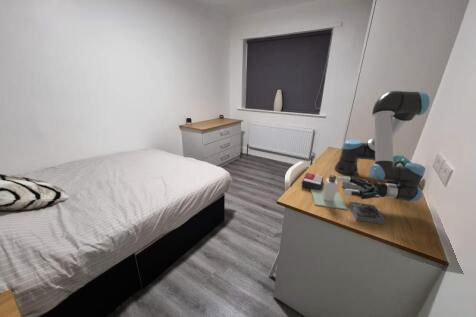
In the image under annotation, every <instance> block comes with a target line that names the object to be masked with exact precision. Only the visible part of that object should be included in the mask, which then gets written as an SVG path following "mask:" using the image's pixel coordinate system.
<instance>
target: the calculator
mask: <svg viewBox="0 0 476 317" xmlns="http://www.w3.org/2000/svg"><path fill="white" fill-rule="evenodd" d="M323 180H324V176H323V175H318V174H314V173H308V172H307V173H306V174H305V175H304V177H303V179H302V181H301V186H302V187H303V188H304V187H305V188H308V189H314V190H322V189H321V187H322V184H323Z"/></svg>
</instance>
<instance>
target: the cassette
mask: <svg viewBox="0 0 476 317" xmlns="http://www.w3.org/2000/svg"><path fill="white" fill-rule="evenodd" d="M343 177H346V178H350V176H348V175H344V176H343ZM362 179H363V178H362ZM363 180H365V179H363ZM341 183H342V184H341V188H344V189H352V190H359V192H360V191H363V190H365V189H364V188H362V187H361V186H359V185H356V184H354V183H351V182H350V183H347V182H341Z"/></svg>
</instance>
